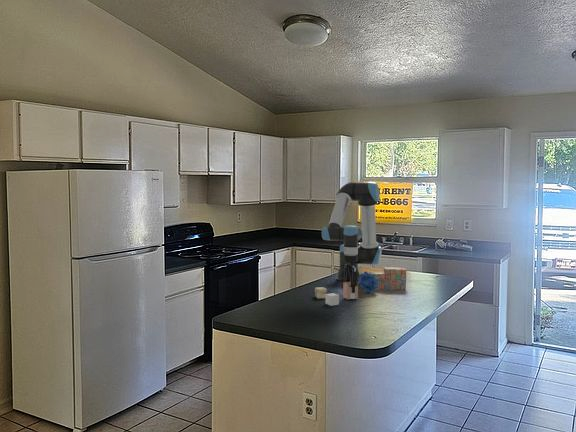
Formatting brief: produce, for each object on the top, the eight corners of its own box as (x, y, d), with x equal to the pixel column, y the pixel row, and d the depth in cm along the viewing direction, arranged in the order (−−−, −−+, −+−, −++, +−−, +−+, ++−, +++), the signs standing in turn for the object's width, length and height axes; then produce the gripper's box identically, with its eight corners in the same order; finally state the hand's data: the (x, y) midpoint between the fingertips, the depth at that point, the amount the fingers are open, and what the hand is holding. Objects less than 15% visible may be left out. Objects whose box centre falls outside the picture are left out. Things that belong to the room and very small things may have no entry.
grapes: (355, 293, 285) (355, 272, 285) (359, 290, 291) (359, 270, 291) (375, 295, 280) (375, 273, 279) (379, 292, 286) (379, 271, 285)
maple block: (315, 296, 277) (315, 287, 276) (323, 296, 278) (323, 287, 277) (317, 298, 272) (317, 289, 271) (326, 298, 273) (326, 289, 273)
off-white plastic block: (325, 303, 260) (325, 294, 260) (333, 302, 263) (333, 293, 263) (330, 305, 256) (330, 296, 256) (339, 304, 259) (339, 295, 258)
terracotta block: (343, 296, 273) (343, 282, 272) (353, 296, 274) (353, 281, 274) (347, 299, 267) (347, 284, 266) (357, 298, 268) (357, 283, 268)
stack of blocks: (369, 289, 296) (369, 268, 295) (368, 287, 302) (368, 266, 301) (406, 290, 294) (406, 269, 293) (404, 287, 300) (404, 267, 299)
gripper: (337, 252, 277) (337, 293, 279) (350, 257, 259) (350, 301, 260) (350, 251, 279) (350, 293, 281) (364, 256, 261) (363, 300, 262)
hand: (350, 297), depth 271 cm, fingers closed on terracotta block, 6 cm apart
